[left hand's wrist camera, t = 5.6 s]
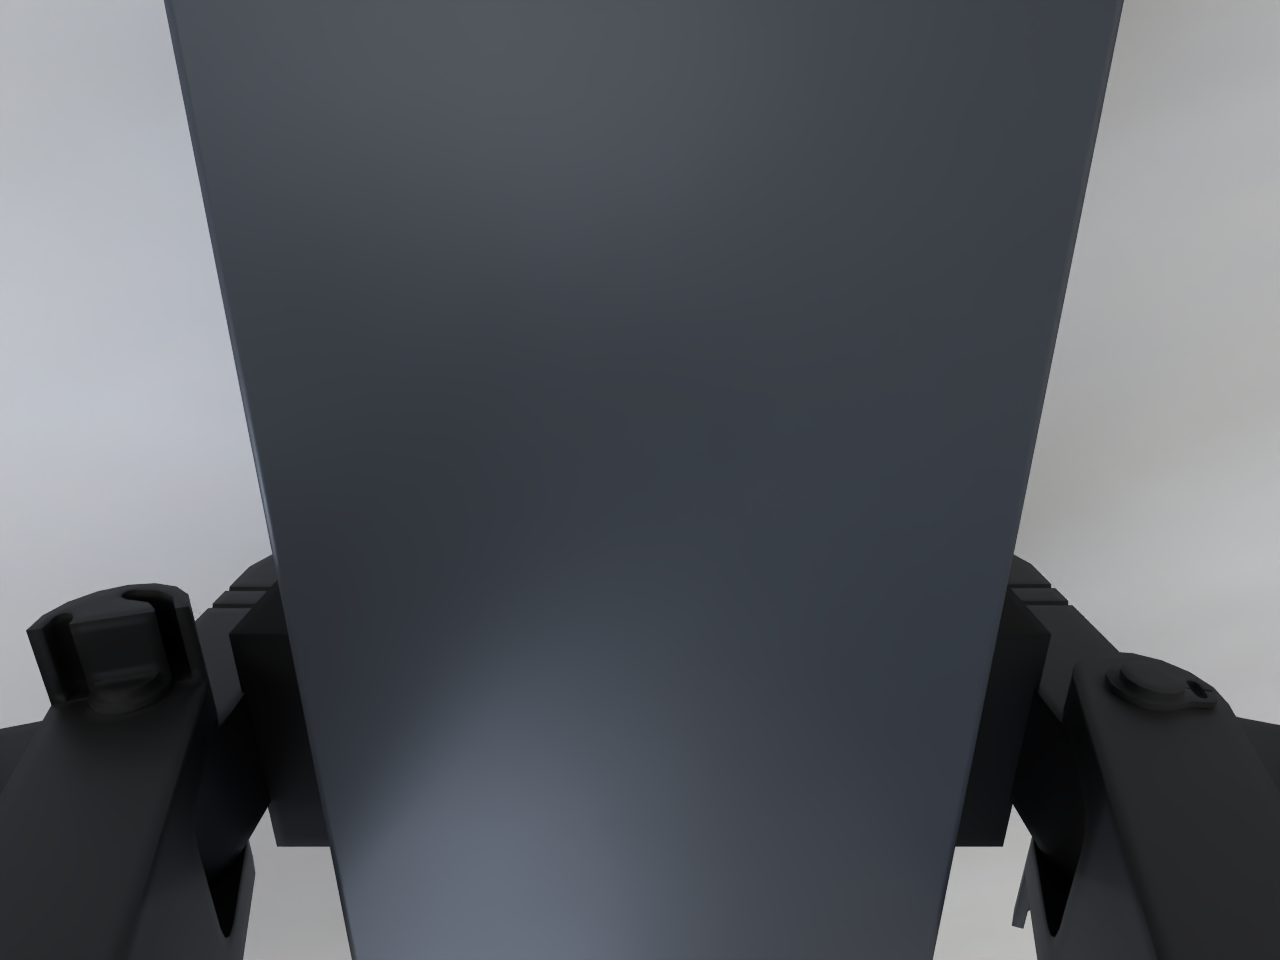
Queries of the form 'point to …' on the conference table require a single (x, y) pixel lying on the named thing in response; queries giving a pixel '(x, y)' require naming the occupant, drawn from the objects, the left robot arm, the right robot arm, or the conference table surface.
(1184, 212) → the conference table surface
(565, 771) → the bar
